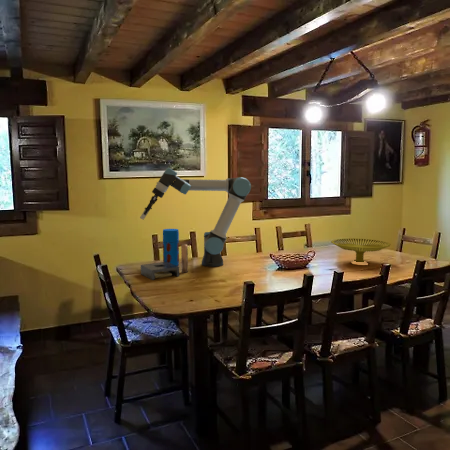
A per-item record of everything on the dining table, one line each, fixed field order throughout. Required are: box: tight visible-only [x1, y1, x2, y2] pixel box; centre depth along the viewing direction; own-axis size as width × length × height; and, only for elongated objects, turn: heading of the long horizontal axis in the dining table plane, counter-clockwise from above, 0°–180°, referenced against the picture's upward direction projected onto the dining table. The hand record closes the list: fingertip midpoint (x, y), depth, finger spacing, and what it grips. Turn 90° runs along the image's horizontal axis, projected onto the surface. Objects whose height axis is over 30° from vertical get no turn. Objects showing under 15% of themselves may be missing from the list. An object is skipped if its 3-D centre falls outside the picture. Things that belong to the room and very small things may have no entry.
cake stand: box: [330, 237, 391, 262], centre depth 313 cm, size 40×40×15 cm
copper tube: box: [180, 243, 189, 274], centre depth 286 cm, size 4×4×18 cm
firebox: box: [140, 261, 180, 281], centre depth 278 cm, size 18×18×6 cm
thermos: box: [162, 228, 180, 267], centre depth 304 cm, size 11×11×25 cm
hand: (142, 217), depth 288 cm, fingers open, 13 cm apart
